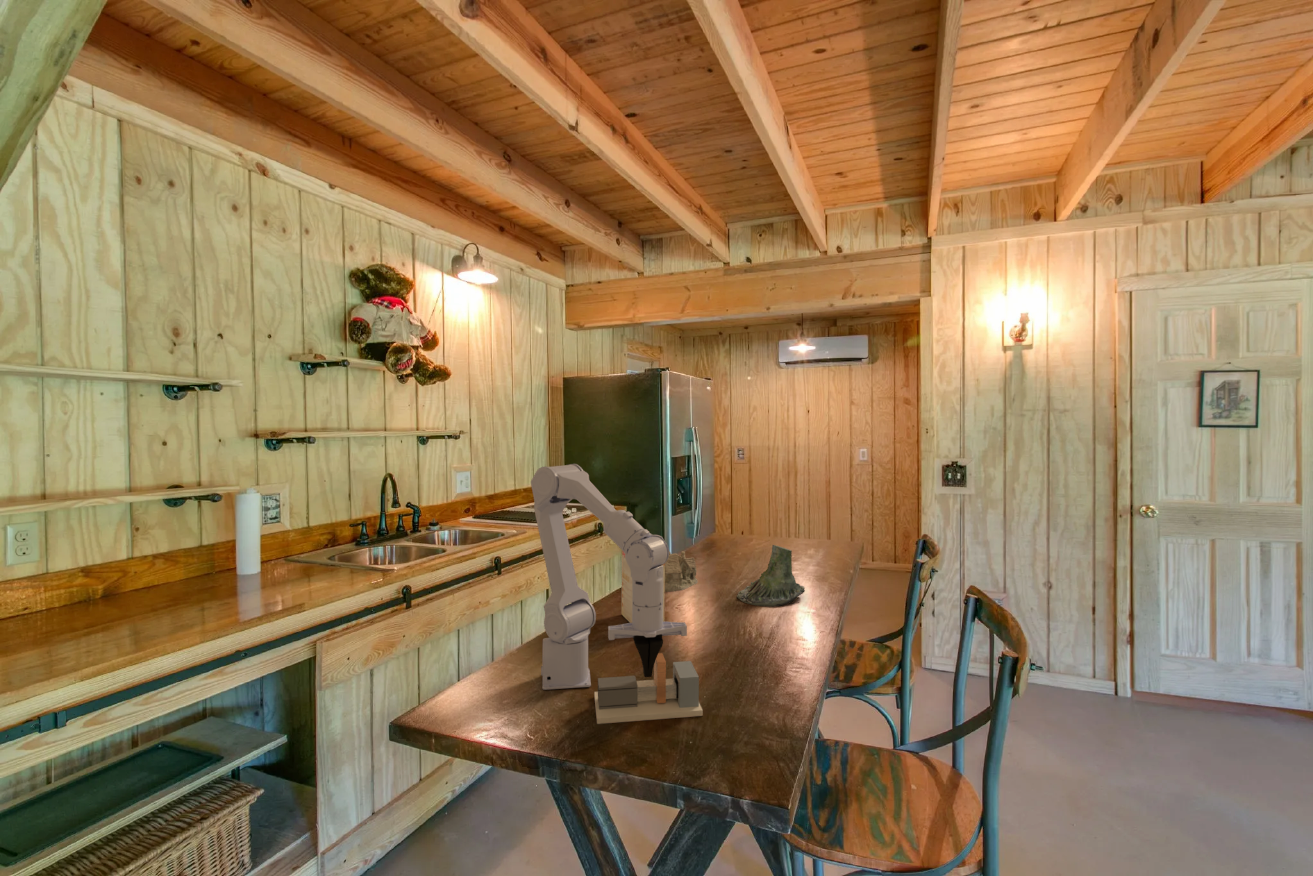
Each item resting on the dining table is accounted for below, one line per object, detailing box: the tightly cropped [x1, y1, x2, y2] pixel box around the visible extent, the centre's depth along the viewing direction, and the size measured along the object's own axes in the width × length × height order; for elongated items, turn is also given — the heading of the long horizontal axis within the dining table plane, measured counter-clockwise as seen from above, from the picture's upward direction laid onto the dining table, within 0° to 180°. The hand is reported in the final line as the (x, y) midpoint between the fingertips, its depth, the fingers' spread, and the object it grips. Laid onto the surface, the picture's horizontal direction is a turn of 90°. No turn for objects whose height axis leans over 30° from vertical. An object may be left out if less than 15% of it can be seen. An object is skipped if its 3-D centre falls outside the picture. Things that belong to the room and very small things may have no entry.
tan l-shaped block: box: [636, 652, 678, 703], centre depth 109 cm, size 12×4×8 cm, turn 99°
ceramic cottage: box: [665, 550, 698, 593], centre depth 189 cm, size 16×16×15 cm
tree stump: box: [736, 544, 806, 608], centre depth 176 cm, size 18×20×18 cm
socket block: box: [672, 660, 700, 708], centre depth 110 cm, size 4×7×6 cm, turn 9°
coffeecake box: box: [621, 550, 666, 623], centre depth 154 cm, size 15×7×20 cm, turn 22°
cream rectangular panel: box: [593, 675, 704, 725], centre depth 109 cm, size 19×10×5 cm, turn 99°
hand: (647, 674), depth 109 cm, fingers closed
